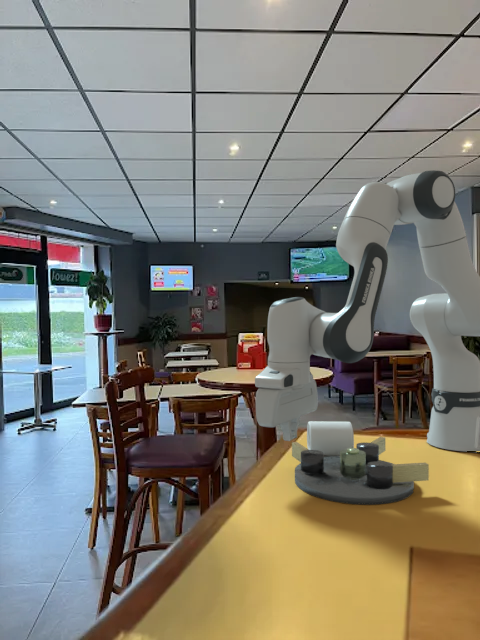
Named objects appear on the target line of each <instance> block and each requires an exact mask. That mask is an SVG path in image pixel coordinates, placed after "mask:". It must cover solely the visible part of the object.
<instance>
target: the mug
mask: <svg viewBox="0 0 480 640" xmlns="http://www.w3.org/2000/svg"><path fill="white" fill-rule="evenodd" d="M354 434H355V433H354V429H353V425H352V423H351V421H325V420H324V421H322V420H320V421H315V420H311V421H307V426H306V444H307V445H306V446H307V447H306V448H307V449H309V450H318V451H322V452H323V453H324V457H328V456H340V451H341V450H345V449H347V448H355V436H354Z"/></svg>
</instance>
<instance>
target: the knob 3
mask: <svg viewBox="0 0 480 640" xmlns="http://www.w3.org/2000/svg"><path fill="white" fill-rule="evenodd" d="M386 462H387V461H386ZM386 462H378V461H375V462H369V463H367V484H368V485H370V486H373V487H378V488H388V487H391V486H393V483H396V482H411V481H414V482H424V481H429V477H430V475H429V469H430V467H429V465H430V464H429V463H427V462H411V463H397V464H395V463H393V464H389V463H386Z"/></svg>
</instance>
